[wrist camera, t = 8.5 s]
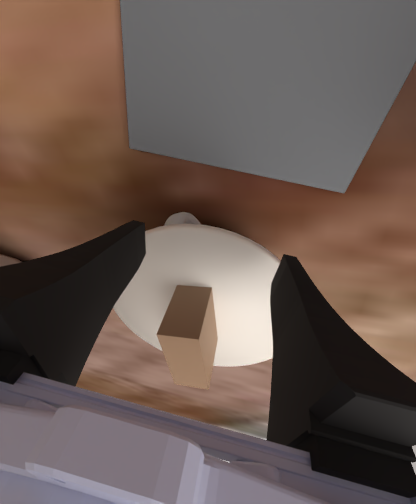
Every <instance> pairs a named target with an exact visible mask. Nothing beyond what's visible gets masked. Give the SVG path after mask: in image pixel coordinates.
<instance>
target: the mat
mask: <svg viewBox="0 0 416 504" xmlns="http://www.w3.org/2000/svg"><path fill="white" fill-rule="evenodd" d="M120 9H121V25H122V40H123V56H124V71H125V87H126V102H127V118H128V133H129V148H131V149H135V150H140V151H145V152H150V153H154V154H159V155H164V156H169V157H174V158H178V159H183V160H188V161H193V162H197V163H202V164H207V165H212V166H216V167H221V168H226V169H231V170H235V171H240V172H245V173H250V174H255V175H259V176H264V177H269V178H274V179H278V180H283V181H288V182H293V183H297V184H302V185H307V186H312V187H316V188H321V189H326V190H331V191H336V192H340V193H345V191H346V189H347V187H348V186H349V184H350V182H351V180H352V178H353V176H354V174H355V173H356V171H357V169H358V167H359V165H360V163H361V161H362V160H363V158H364V156H365V154H366V152H367V150H368V149H369V147H370V145H371V143H372V141H373V139H374V137H375V136H376V134H377V132H378V130H379V128H380V126H381V125H382V123H383V121H384V119H385V117H386V115H387V113H388V112H389V110H390V108H391V106H392V104H393V102H394V101H395V99H396V97H397V95H398V93H399V91H400V89H401V88H402V86H403V84H404V82H405V80H406V78H407V77H408V75H409V73H410V71H411V69H412V67H413V65H414V64H415V62H416V0H120Z"/></svg>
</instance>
